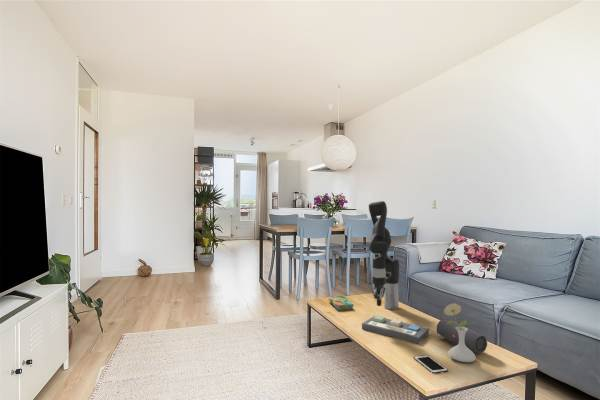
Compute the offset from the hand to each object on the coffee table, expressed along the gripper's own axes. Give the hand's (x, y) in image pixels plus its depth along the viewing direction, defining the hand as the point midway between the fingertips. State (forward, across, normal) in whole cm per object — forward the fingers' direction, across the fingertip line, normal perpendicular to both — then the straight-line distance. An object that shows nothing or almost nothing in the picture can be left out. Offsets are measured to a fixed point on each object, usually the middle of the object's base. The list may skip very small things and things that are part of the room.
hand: (379, 305), depth 188 cm
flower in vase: (+12, +14, +46) cm, 50 cm away
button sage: (+10, 0, 0) cm, 10 cm away
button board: (+12, +2, +10) cm, 16 cm away
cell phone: (+12, +28, +37) cm, 48 cm away
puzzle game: (+12, -18, -38) cm, 44 cm away
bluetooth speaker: (+12, 0, +43) cm, 45 cm away
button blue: (+11, 0, +20) cm, 23 cm away
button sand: (+10, 0, +10) cm, 14 cm away
